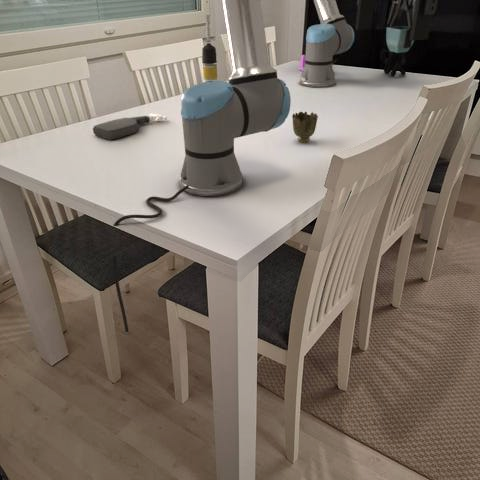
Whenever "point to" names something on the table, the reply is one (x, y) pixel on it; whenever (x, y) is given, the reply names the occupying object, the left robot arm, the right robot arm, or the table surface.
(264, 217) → the table surface
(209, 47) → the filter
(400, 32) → the teal square planter
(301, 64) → the bracket
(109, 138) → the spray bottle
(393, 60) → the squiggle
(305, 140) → the cup
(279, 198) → the table surface
